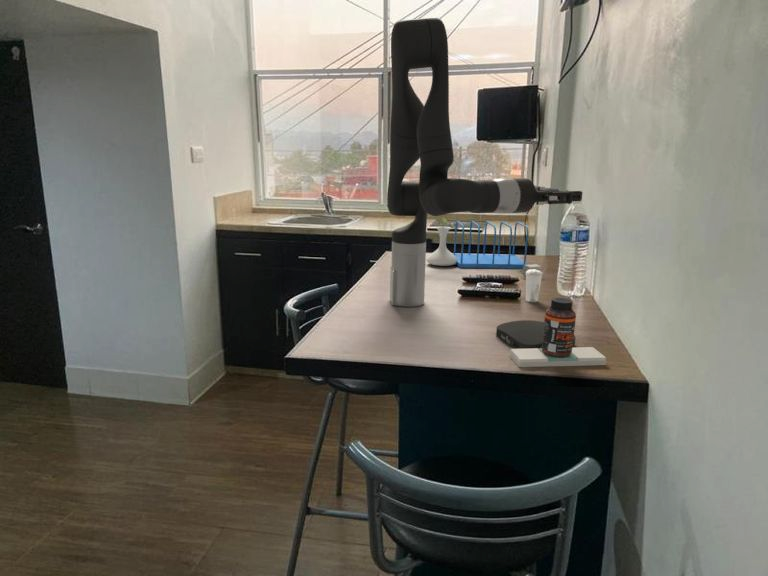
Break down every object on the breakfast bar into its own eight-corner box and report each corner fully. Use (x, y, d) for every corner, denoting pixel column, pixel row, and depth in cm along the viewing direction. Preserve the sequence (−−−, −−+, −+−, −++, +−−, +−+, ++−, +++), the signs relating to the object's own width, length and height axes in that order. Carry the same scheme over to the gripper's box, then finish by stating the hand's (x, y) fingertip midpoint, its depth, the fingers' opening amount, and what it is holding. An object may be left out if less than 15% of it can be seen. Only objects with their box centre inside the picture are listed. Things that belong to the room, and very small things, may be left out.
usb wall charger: (540, 278, 183) (541, 266, 182) (522, 279, 181) (523, 267, 180) (533, 275, 186) (534, 263, 185) (515, 276, 184) (516, 265, 183)
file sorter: (458, 268, 195) (460, 226, 191) (451, 258, 212) (452, 219, 208) (527, 269, 196) (531, 226, 192) (514, 259, 213) (517, 220, 209)
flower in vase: (436, 260, 208) (439, 194, 202) (463, 264, 201) (466, 196, 195) (417, 266, 198) (420, 196, 191) (445, 270, 191) (448, 198, 185)
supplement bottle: (556, 360, 108) (561, 305, 105) (535, 350, 113) (539, 297, 110) (578, 355, 110) (584, 301, 108) (556, 346, 116) (561, 294, 113)
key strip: (518, 367, 108) (519, 359, 108) (509, 355, 114) (509, 348, 114) (605, 365, 110) (606, 357, 110) (592, 354, 116) (592, 346, 115)
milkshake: (543, 303, 152) (546, 268, 150) (523, 302, 153) (526, 267, 151) (542, 299, 157) (545, 265, 154) (523, 298, 158) (525, 264, 155)
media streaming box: (582, 349, 119) (583, 336, 118) (523, 356, 115) (524, 343, 114) (543, 328, 133) (544, 317, 132) (489, 334, 128) (490, 322, 127)
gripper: (530, 180, 112) (592, 179, 118) (491, 176, 125) (549, 175, 131) (527, 217, 114) (588, 214, 120) (489, 209, 127) (546, 207, 133)
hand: (568, 194), depth 126 cm, fingers open, 8 cm apart
